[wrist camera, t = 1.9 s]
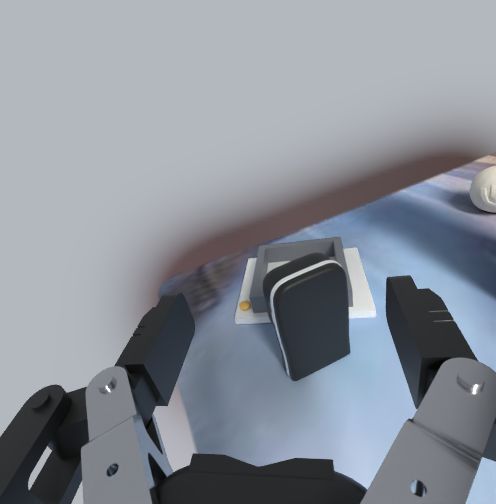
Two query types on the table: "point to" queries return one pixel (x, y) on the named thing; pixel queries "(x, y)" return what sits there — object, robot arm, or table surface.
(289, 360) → the battery charger
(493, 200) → the off-white ball
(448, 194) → the table surface
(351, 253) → the charging dock
